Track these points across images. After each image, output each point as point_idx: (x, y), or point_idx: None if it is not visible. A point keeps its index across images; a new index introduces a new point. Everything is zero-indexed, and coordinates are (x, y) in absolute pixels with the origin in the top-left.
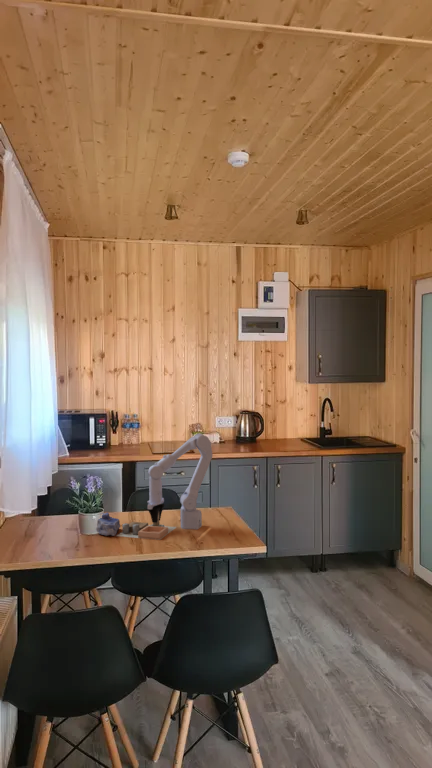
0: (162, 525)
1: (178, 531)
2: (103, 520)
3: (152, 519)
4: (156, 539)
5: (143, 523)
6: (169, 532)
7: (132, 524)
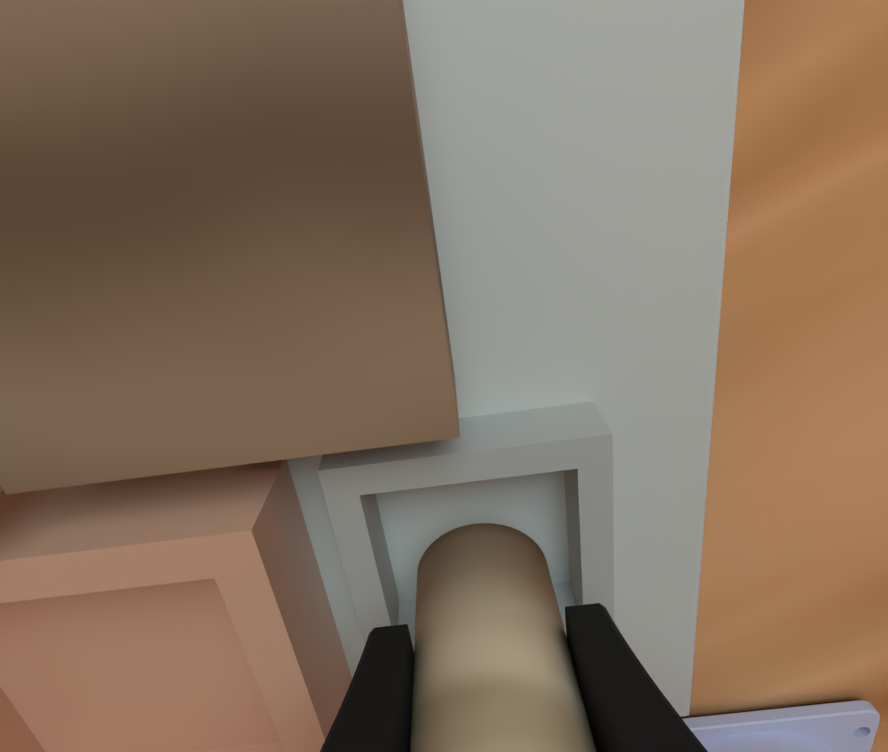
0: None
1: None
2: None
3: (350, 709)
4: None
5: (368, 348)
6: None
7: (87, 74)
